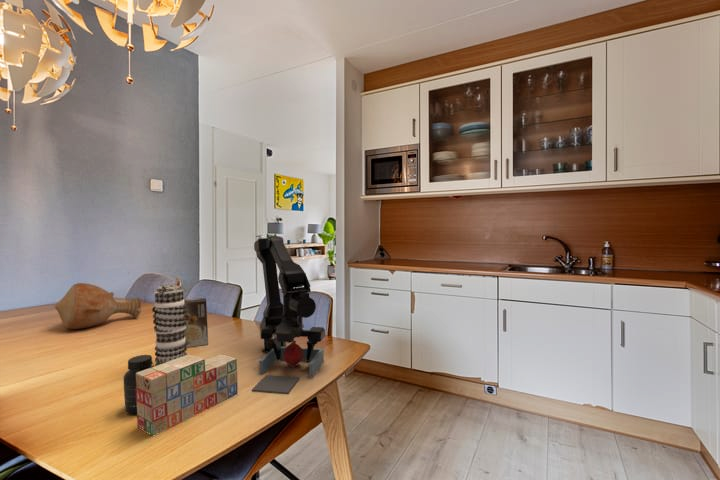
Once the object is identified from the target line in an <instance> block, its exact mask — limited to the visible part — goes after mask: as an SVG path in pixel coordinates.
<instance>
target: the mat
mask: <svg viewBox="0 0 720 480" xmlns="http://www.w3.org/2000/svg"><path fill="white" fill-rule="evenodd" d="M300 378H301V377H300V376H289V375H287V376H286V375H273V374H272V375H271V374H266V375H264V376H263V378H261V380H260V381H259V382H257V384H256V385H255V386H253V388H251V392H257V393H271V394H283V395H285V394H286V395H289V394H290V392H292V390H293V388H294V387H295V386H296V385H297V383H298V382H299V380H300Z"/></svg>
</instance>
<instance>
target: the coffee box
mask: <svg viewBox="0 0 720 480" xmlns="http://www.w3.org/2000/svg"><path fill="white" fill-rule="evenodd" d="M184 305H185V306H187V308H185V309H184V310H185V311H187V313H185V314H184V317H186V318H187V319H186V320H185V321H184V322H186V325H185V326H186V329H184V331H185V333H184V336H185V342H186V343H187V345H186V346H185V347H186V348H187V349H188V348H192V347H201V346H207V345H209V330H208V328H209V327H208V309H207V308H208V306H207V298H206V297H202V298H190V299H189V298H188V299H184Z"/></svg>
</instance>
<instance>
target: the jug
mask: <svg viewBox="0 0 720 480" xmlns="http://www.w3.org/2000/svg"><path fill="white" fill-rule="evenodd" d="M114 294H115V293H114V292H113V291H112V292H109V291H107V290H105V289H103V288H102V287H101V286H98V285H94V284H90V283H86V282H83V283H82V282H77V283H75V284H73V285H71V287H70V288H69V289H68V290H67V292H66V293H65V294H64V295H63V297H62V298H61V299H60V300H59V301H57V302H55V305H54V308H55V310H56V311H57V313H58V315H59V318H60V320H61V322H62V323H61V324H62V325H63V327H64V328H65V329H66V330H67V329H68V330H82V329H87V328H91V327H94V326H97V325H100V324H102V323H104V322H106V321H107V320H108V319H109V318H110V317H111V316H113V315H115V314H122V313H123V314H127V315H131V317H132V319H137V318H138V317H139V316H140V315H141V314H142V313H141V312H142V307H143V306H142V299H141V297H136V298H135V300H133V301H128V302H119V301H116V300H115V299H114V296H115V295H114Z"/></svg>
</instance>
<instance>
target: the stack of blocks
mask: <svg viewBox="0 0 720 480" xmlns="http://www.w3.org/2000/svg"><path fill="white" fill-rule="evenodd" d="M238 381H239V380H238V363H237V358H235V357H232V356H228V355H224V354H217V356H213V357H210V358H208V359H205V358H203V357H200V356H195V355H193V354H189V353H187V355H185V356H183V357H180V358H177V359H174V360H171V361H168V362H166V363H163V364H160V365H158V366H154V367H152V368H149V369H146V370H143V371H140V372H137V373H136V386H137V387H136V401H137V415H136V416H137V417H136V418H137V428H138V427H139V428H141V429H143V430H144V431H146V432H145V433H147V432H148V433H150V434H152V435H155V436H157V435H158V434H157V433H159V434H161V433H163V432H165V431H167V430H169V429H168V428H170V429H172V428H173V427H175V426H178V425H179V424H181V423H183V422H186V421H187V420H189V419H190V418H193V417H195V416H196V415H198V414H200V413H202V412H204V411H206V410H208V409H210V408H212V407H213V406H215V405H217V404H219V403H221V402H224V401H225V400H227V399H229V398H231V397H233V396H235V395H237V394H238V389H239V388H238ZM171 427H172V428H171ZM139 428H138V429H139ZM141 429H140V430H141ZM166 429H167V430H166ZM143 430H142V431H143ZM164 430H165V431H164ZM144 431H143V432H144ZM162 431H163V432H162ZM160 432H161V433H160ZM148 433H147V434H148ZM150 434H149V435H150ZM156 434H157V435H156ZM152 435H151V436H152Z"/></svg>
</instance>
